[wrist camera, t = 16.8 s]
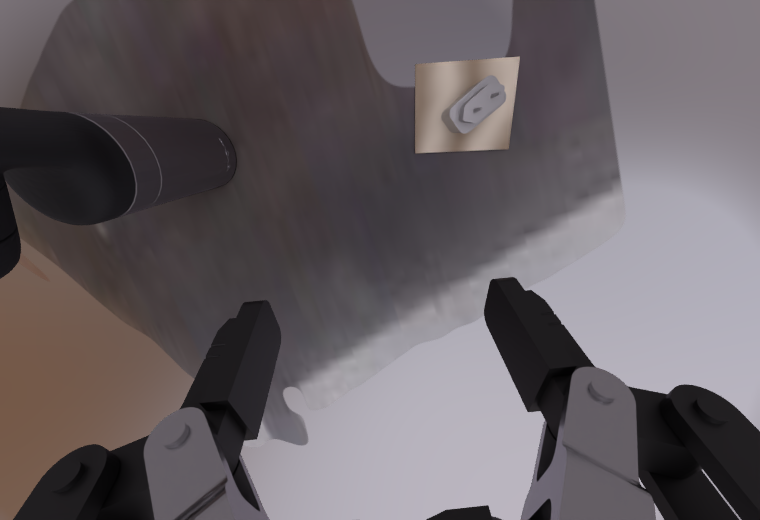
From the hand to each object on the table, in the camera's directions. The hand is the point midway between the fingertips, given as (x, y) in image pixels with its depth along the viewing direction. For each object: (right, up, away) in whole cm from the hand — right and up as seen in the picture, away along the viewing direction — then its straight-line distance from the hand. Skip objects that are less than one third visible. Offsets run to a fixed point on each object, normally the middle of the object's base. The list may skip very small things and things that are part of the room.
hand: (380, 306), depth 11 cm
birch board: (+11, +21, +26) cm, 35 cm away
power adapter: (+10, +20, +26) cm, 34 cm away
